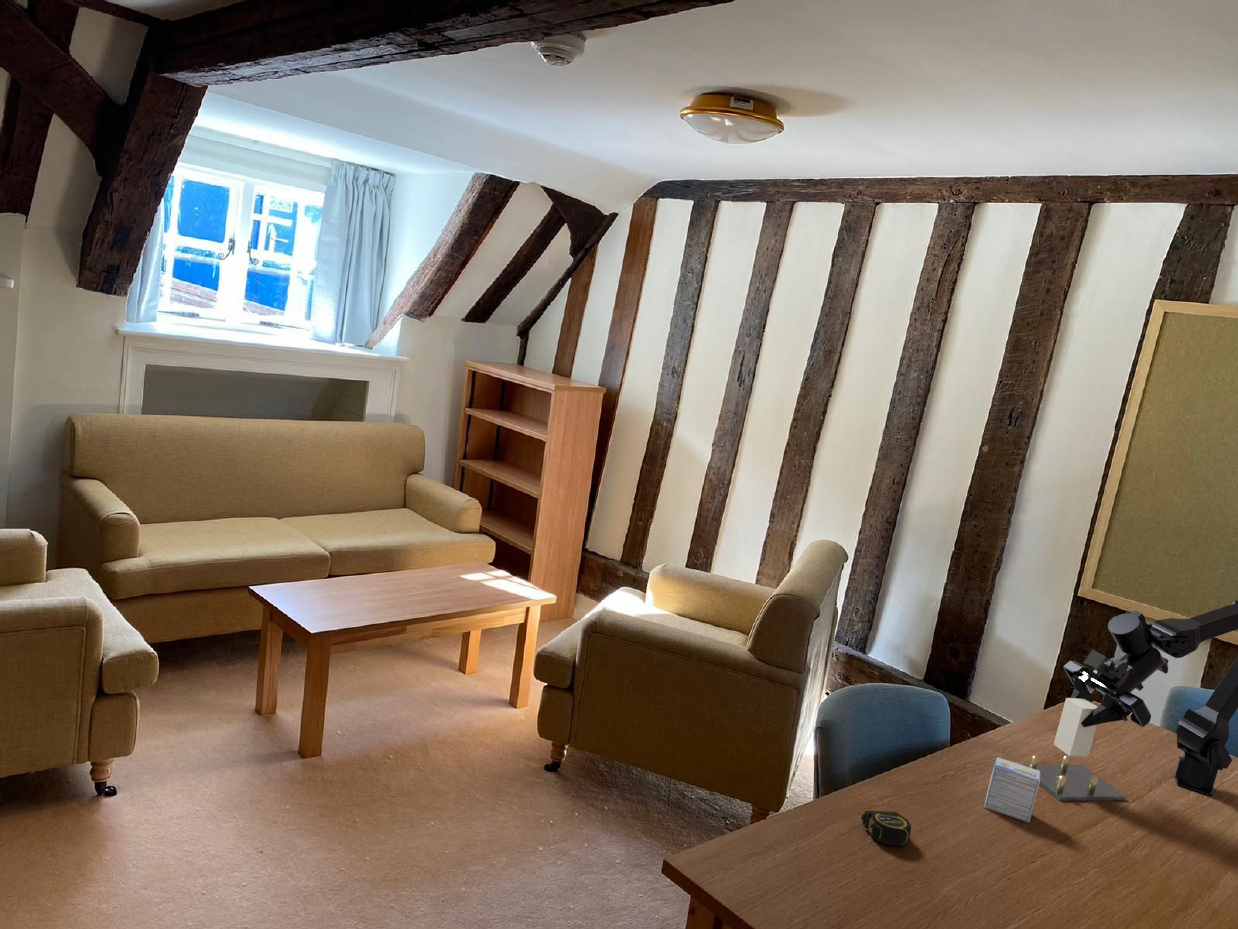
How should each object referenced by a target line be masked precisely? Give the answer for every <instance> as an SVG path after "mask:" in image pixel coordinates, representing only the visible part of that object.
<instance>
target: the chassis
mask: <svg viewBox="0 0 1238 929" xmlns="http://www.w3.org/2000/svg"><path fill="white" fill-rule="evenodd" d="M1039 760H1040V756H1039V755H1036V754H1032V757H1031V760H1030V761H1031V762H1030V764H1022V765H1023V766H1026V767H1029V768H1032V769H1035V770H1039V771H1040V784H1039V786H1040V787H1041V788H1043V789H1044V790H1045V791H1046V792H1048V793H1049V794H1050V795H1051V796H1052V797H1054V798H1055V799H1056V800H1058V801H1059V802H1062V801H1068V802H1069V801H1071V802H1073V801H1126V799H1127V797H1128V796H1126V795H1125V794H1124V793H1122V792H1121V791H1120V790H1119V789H1116V788H1115V787H1114V786H1112V784H1110V783H1108V782H1107V781H1105V779H1102V777H1100V776H1099V775H1098V774H1096V773H1094V772H1093V771H1091V770H1090V769H1089V768H1087V767H1086V766H1084V765H1083V764H1070V760H1071V756H1069V755H1068V754H1065V755H1063V757H1062V761H1061V764H1039Z"/></svg>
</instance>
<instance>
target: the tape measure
mask: <svg viewBox="0 0 1238 929" xmlns="http://www.w3.org/2000/svg"><path fill="white" fill-rule="evenodd" d="M861 821H862V826H863V827H864V828H865V829H867V830H868V832H869V834H870V836H871V837H873V839H874V840H877V841H878V842H880V843H882V844H885V845H888V846H892V847H895V846H896V847H900V846H904V845H906V844H907V843H908V842H909V840H910V836H911V831H912V824H911V822H910V821H909V820H908V819H907V818H906V817H904V816H902V814H900V813H899V812H896V811H883V810H865V811H864V812H863V813H861Z"/></svg>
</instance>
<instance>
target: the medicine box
mask: <svg viewBox="0 0 1238 929" xmlns="http://www.w3.org/2000/svg"><path fill="white" fill-rule="evenodd" d="M1023 765H1024V764H1020V763H1017V762H1013V761H1011V760H1008V759H1004V758H1001V757H999V756H998V757H995V760H994V765H993V768H992V772H991V776H990V779H989V783H988V789H987V792H986V795H985V796H986V797H985V801H984V806H983V808H984V809H988V810H990V811H992V812H995V813H999V814H1002V815H1004V816H1008V817H1011V818H1014V819H1018V820H1020V821H1023V822H1026V823H1030V822H1031V817H1032V813H1033V810H1034V805H1035V802H1036V798H1037V793H1038V790H1039V786H1040V785H1039V784H1040V771H1039V770H1035V769H1032V768H1029V767H1026V766H1023Z"/></svg>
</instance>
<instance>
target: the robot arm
mask: <svg viewBox="0 0 1238 929" xmlns="http://www.w3.org/2000/svg"><path fill="white" fill-rule="evenodd" d="M1107 628H1108V631H1109V632H1110V634H1111V636H1112V638H1113V639H1114V642H1115V643H1116V646H1118V649H1119V650H1120V651H1121V652H1122V653H1123V654H1124V655H1123V656H1121V657H1120V658H1116V657H1112V658H1109V657H1107V656H1105V655H1103V654H1101V653H1100V652H1097V651H1096V650H1094V649H1091V651H1090V652H1089V654H1088V655H1087V657H1086V658H1085V659H1084V661H1083V664H1082V663H1080V662H1078V661H1076V660H1069V661H1068V662H1067V663H1066V664H1065V665H1063V666H1062V669H1063V670H1064V672H1065V673H1066V675H1067V678H1068V680H1070V682H1071V684H1072V685H1073V686H1074V688H1073V691H1072V693H1071V696H1070V697H1069V698H1079V699H1086V700H1087V701H1089V702H1091V703H1093V702H1094V701H1095V698H1094V697H1093V695H1092V693H1094V691H1095V692H1097V693H1099V694H1100V695H1102V696H1103V699H1102V701H1101V703H1100V704H1099V705H1098V706H1097V708H1096V709H1095V710H1094V711H1093V712H1092V713H1090V714H1089V715H1088V716H1087V717H1086V718H1085V719H1084V720H1083V721H1082V723H1081V724H1082V726H1083V727H1089V726H1093V725H1097V726H1098V725H1101V724H1106V723H1114V722H1118V721H1122V722H1123V721H1124V722H1127V721H1128V717H1129V716H1130V721H1131V722H1133V723H1134V724H1136V725H1137V726H1138V727H1140V728H1144V727H1146V726H1147V725H1148V724H1149V723H1150V721H1151V719H1152V713H1151V712H1150V710H1149V708H1148V707H1147V704H1146V703H1145V701H1144V699H1143V698H1141V697H1139V696H1137V695H1136V694H1134V693H1132V692H1133V691H1134V690H1135V689H1136V690H1137V691H1142V690H1143V689H1144V685H1143V683H1144V682H1145V681H1146V680H1147V679H1148V678H1150V677H1151V676H1152V675H1153V674H1154V673H1155V672H1156V671H1160V672H1162V673H1163V674H1168V672H1169V664H1168V663H1169V659H1168V658H1165V657H1163V656H1162V654H1161V652H1163V653H1165V654H1167V655H1168V656H1171V657H1172V658H1175V659H1181V658H1185V657H1186V656H1187V655H1190V654H1192V653H1193V652H1196V651H1197V650H1198V648H1199V646H1200V644H1201V643H1203V642H1205V641H1208V640H1211V639H1214V638H1217V637H1220V636H1223V635H1225V634H1228V633H1231V632H1234V631H1237V630H1238V599H1237V600H1235V601H1233V602H1232V603H1231V604H1228V605H1225V606H1223V607H1220V608H1216V609H1214V610H1211V611H1207V612H1205V613H1201V614H1198V615H1195V616H1193V617H1190V618H1175V617H1171V618H1170V617H1169V618H1163V619H1158V620H1155V621H1153V622H1152V623H1147V621H1146V617H1145V616H1144V614H1143V613H1141V612H1139V611H1137V610H1134V611H1132V612H1131V613H1121V614H1118V615H1115V616H1113V617H1112V618H1111V619H1110V620H1109V622H1108V624H1107ZM1160 651H1161V652H1160ZM1085 665H1086V666H1085ZM1087 666H1088V667H1091V669H1092V670H1093V671H1092V673H1093V675H1094V676H1095V677H1096V679H1095V678H1094V677H1093V675H1092V674H1091V672H1090V670H1089V668H1088V667H1087ZM1237 710H1238V655H1237V656H1236V658H1235V660H1234V661H1233V662H1232V664H1231V665H1230V667H1229V669H1228V670H1227V672H1226V673H1225V674H1224V676H1223V678H1222V679H1221V680H1220V682H1219V683H1218V685H1217V686H1216V688H1215V689H1214V691H1213V692H1212V693H1211V696H1210V697H1209V698H1208V700H1207V701H1206V703H1205V704H1204V705H1203V707H1201V708H1197V709H1196V710H1193V709H1192V708H1189V709H1187V710H1185V712H1184V714H1183V717H1182V718H1181V719H1180V720H1179V721H1178V722H1177V725H1178V726H1177V727H1176V730H1175V734H1176V749H1178V750H1181V751H1182V752H1183V754H1182V756H1181V755H1180V756H1178V760H1177V761H1176V762H1177V763H1176V766H1175V770H1174V778H1175V780H1176V785H1177V786H1181V787H1182V788H1186V789H1188V790H1192V791H1195V792H1196V793H1197V792H1198V793H1201V794H1202V795H1203V794H1204V795H1207V796H1210V797H1213V795H1214V792H1213V789H1214V785H1215V782H1216V778H1217V775H1218V772H1219V771H1223V769H1225V770H1226V769H1228V768H1229V766H1230V765H1231V763H1232V761H1233V759H1232V757H1231V755H1230V754H1229V752H1228V750H1227V748H1226V744H1227V743H1228V740H1229V738H1230V728H1229V727H1230V726H1229V725H1230V721H1231V719H1232V717H1233V716H1234V714H1235V713H1236V711H1237Z"/></svg>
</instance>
